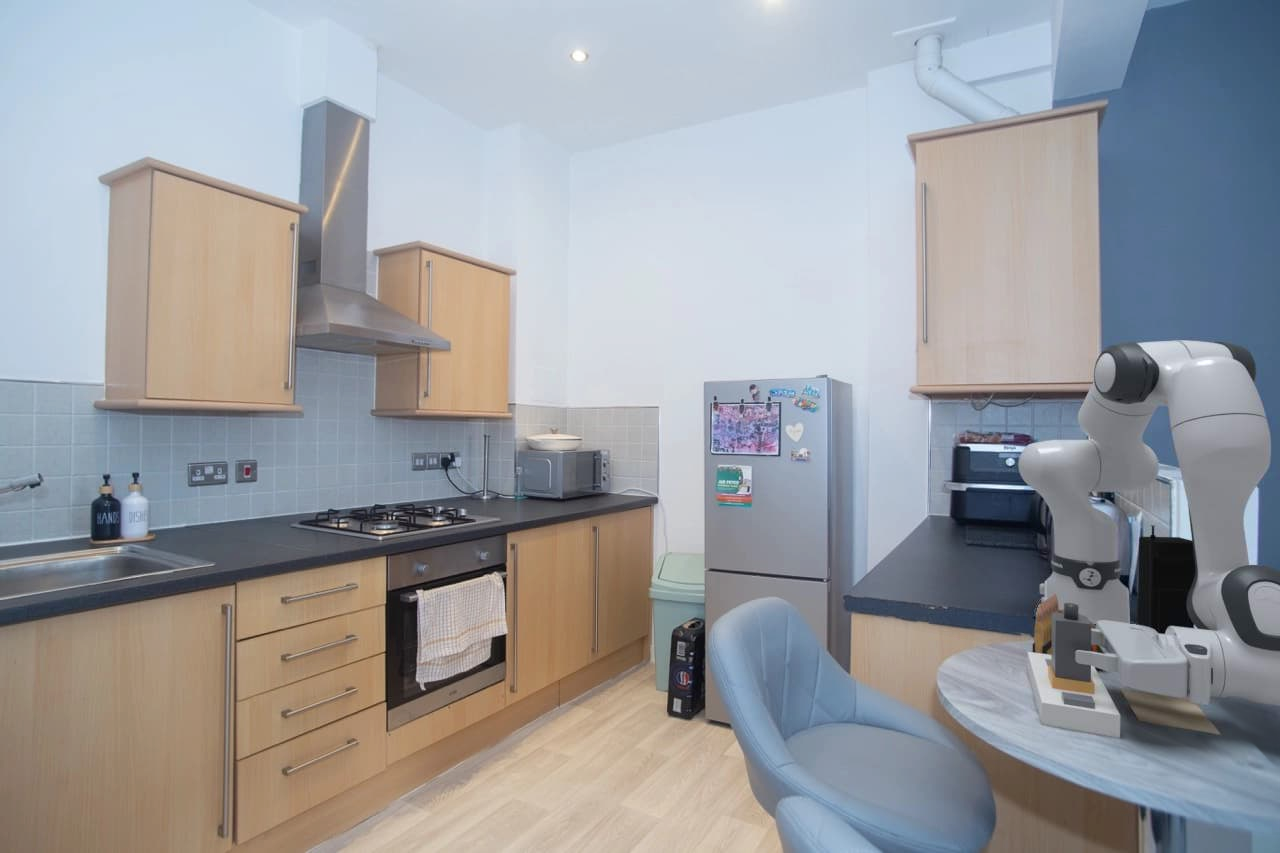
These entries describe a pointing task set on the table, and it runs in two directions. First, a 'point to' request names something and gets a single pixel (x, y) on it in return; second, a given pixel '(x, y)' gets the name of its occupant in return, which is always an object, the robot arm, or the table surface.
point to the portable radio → (1164, 582)
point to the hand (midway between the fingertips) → (1069, 644)
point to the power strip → (1069, 712)
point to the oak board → (1168, 711)
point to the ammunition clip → (1044, 626)
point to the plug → (1070, 651)
